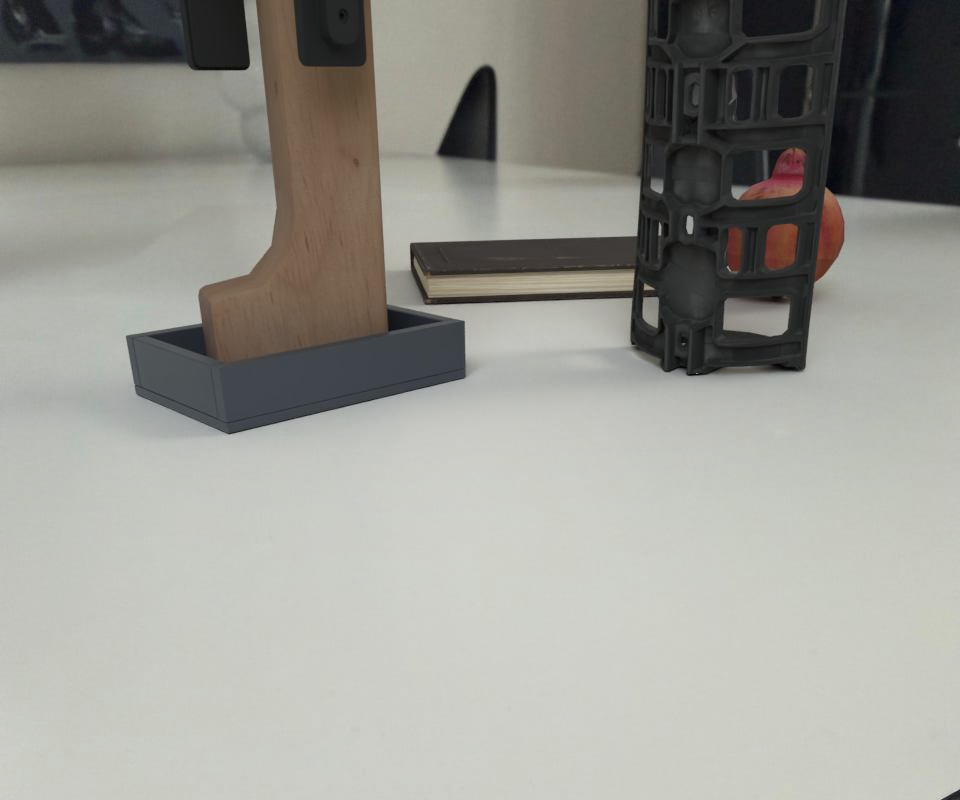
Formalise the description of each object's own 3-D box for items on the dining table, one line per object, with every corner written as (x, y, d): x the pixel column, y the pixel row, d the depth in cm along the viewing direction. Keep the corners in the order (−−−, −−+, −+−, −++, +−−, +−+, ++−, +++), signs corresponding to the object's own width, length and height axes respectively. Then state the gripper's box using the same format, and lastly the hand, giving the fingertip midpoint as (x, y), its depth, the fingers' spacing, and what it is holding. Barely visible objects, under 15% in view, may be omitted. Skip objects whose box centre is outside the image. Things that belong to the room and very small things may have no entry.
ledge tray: (135, 393, 52) (125, 335, 51) (361, 348, 61) (358, 297, 59) (228, 434, 46) (219, 368, 45) (466, 377, 55) (465, 320, 53)
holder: (827, 351, 57) (878, -75, 46) (790, 395, 52) (836, -73, 41) (647, 334, 63) (654, -53, 52) (596, 373, 57) (591, -49, 46)
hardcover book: (729, 293, 75) (732, 261, 74) (425, 304, 73) (423, 271, 72) (668, 261, 89) (670, 234, 88) (410, 269, 87) (409, 241, 86)
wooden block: (220, 394, 50) (161, -38, 42) (208, 373, 54) (151, -27, 45) (393, 376, 53) (371, -32, 44) (370, 357, 57) (346, -23, 48)
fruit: (705, 291, 76) (719, 145, 72) (809, 289, 77) (829, 143, 72) (736, 312, 69) (753, 151, 64) (850, 309, 70) (876, 149, 65)
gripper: (38, -403, 42) (115, 71, 50) (257, -589, 30) (309, 64, 39) (201, -358, 46) (247, 71, 54) (446, -505, 35) (456, 65, 43)
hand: (273, 68), depth 46 cm, fingers open, 9 cm apart
